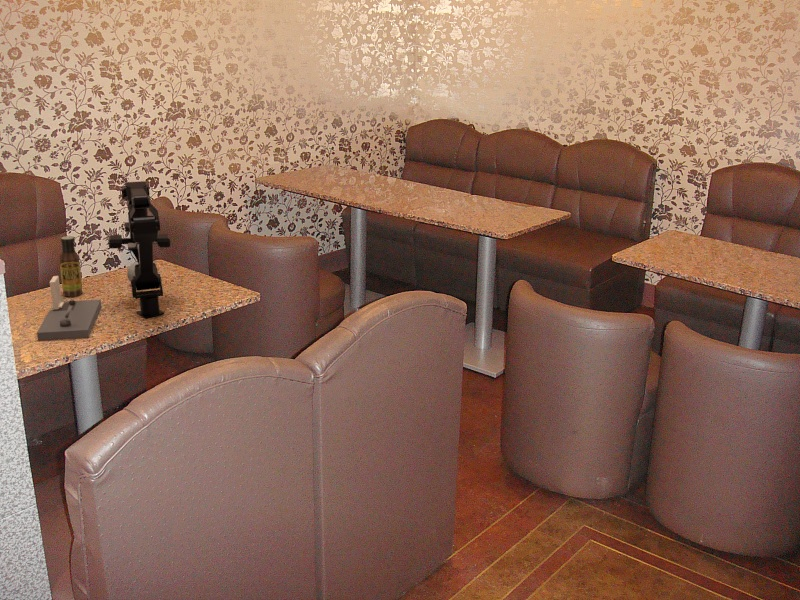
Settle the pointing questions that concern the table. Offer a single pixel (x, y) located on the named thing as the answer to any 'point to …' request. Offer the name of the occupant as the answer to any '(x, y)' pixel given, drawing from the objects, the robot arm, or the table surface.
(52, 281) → the ivory paddle
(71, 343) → the table surface
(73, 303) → the steel toggle lever
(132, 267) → the ceramic mug
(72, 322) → the switch panel
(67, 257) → the sauce bottle
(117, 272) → the table surface
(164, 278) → the table surface
